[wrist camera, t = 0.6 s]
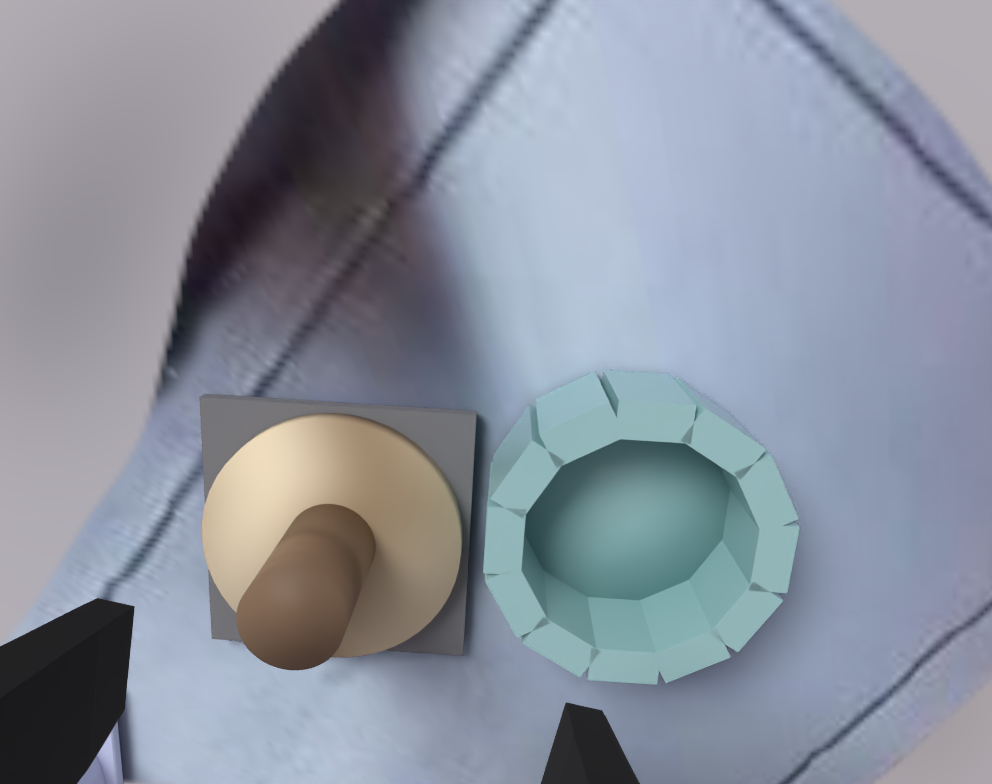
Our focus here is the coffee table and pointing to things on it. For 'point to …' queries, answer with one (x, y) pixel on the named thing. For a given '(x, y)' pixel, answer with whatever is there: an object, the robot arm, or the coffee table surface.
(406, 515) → the lid
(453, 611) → the mat
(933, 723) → the coffee table surface
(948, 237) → the coffee table surface
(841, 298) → the coffee table surface
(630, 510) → the bowl
